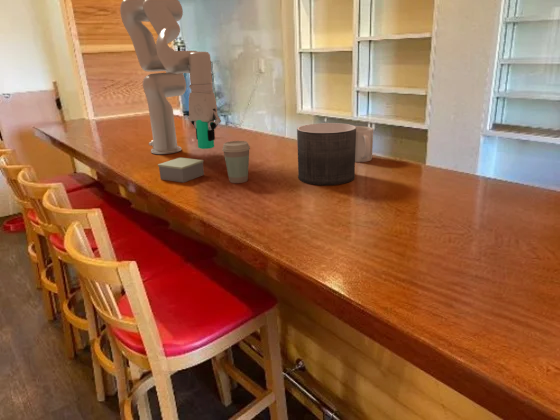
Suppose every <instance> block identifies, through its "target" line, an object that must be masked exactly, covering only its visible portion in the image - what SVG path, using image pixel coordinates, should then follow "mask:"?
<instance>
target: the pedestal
mask: <svg viewBox="0 0 560 420" xmlns="http://www.w3.org/2000/svg"><path fill="white" fill-rule="evenodd" d="M157 167H158V169H159V175H160V180H164V181H171V182H177V183H183V184H184V183H186V182H188V181H189V182H190V181H192V180H194V179H197V178H199V177H201V176H204V175H205V171H204V159H199V158H198V159H196V158H187V157H176V158H173V159H171V160H167V161H164V162H161V163H158V164H157Z"/></svg>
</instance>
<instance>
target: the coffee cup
mask: <svg viewBox="0 0 560 420" xmlns="http://www.w3.org/2000/svg"><path fill="white" fill-rule="evenodd" d="M250 147H251V146H250V144H249V142H248V141H245V140H231V141H226V142H224V143H223V146H222V152H223V155H224V161H225V165H226V171H227V177H228V180H229V182H230V183H232V184H241V183H246V182H247V181H249V163H250V150H251V148H250Z"/></svg>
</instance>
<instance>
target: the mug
mask: <svg viewBox="0 0 560 420" xmlns="http://www.w3.org/2000/svg"><path fill="white" fill-rule="evenodd" d="M355 127H356V149H355V163H364V162H369V161H372V159H373V147H374V145H373V143H374V128H373V127H370V126H355Z"/></svg>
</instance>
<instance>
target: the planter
mask: <svg viewBox="0 0 560 420" xmlns="http://www.w3.org/2000/svg"><path fill="white" fill-rule="evenodd" d="M356 127H357V126H356V125H353V124H348V123H341V122H340V123H338V122H337V123H336V122H325V123H324V122H322V123H321V122H320V123H308V124H304V125H300V126H298V127H297V128H296V133H297V134H296V135H297V136H296V141H297V143H296V145H297V169H298V171H297V173H298V175H297V178H298V180H299V181H301V182H303V183H304V184H309V185H315V186H336V185H343V184H347V183H350V182H352V181H354V179H355V178H356V177H355V176H356V174H355V172H356V170H355V169H356V162H355V149H356Z"/></svg>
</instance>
